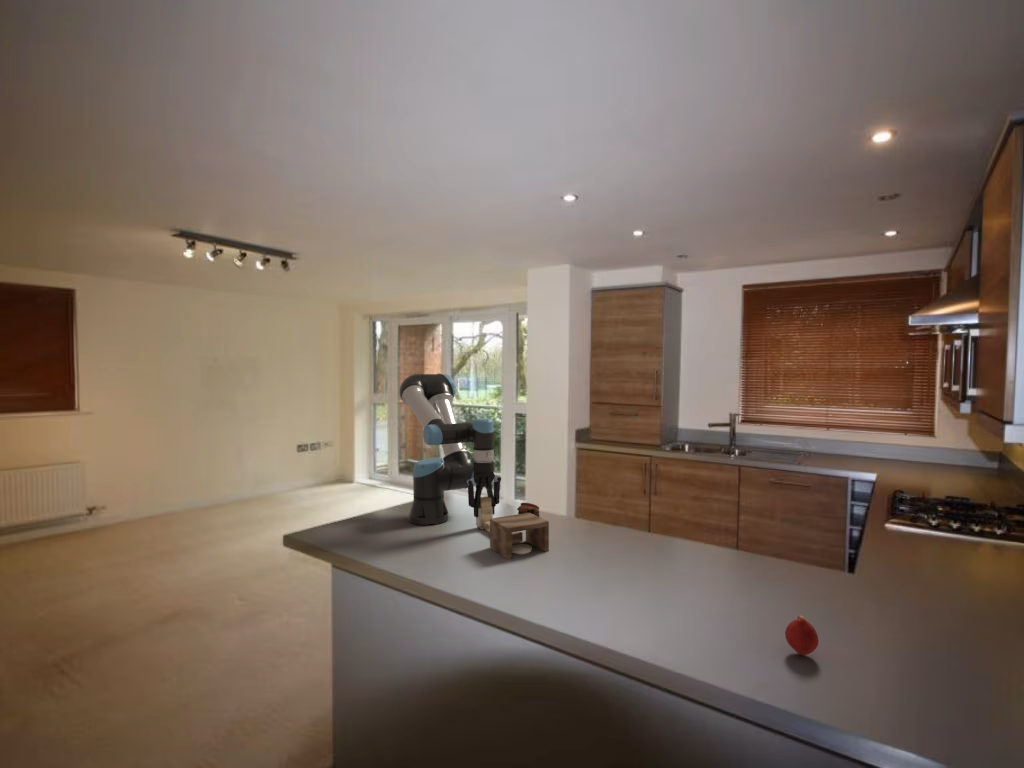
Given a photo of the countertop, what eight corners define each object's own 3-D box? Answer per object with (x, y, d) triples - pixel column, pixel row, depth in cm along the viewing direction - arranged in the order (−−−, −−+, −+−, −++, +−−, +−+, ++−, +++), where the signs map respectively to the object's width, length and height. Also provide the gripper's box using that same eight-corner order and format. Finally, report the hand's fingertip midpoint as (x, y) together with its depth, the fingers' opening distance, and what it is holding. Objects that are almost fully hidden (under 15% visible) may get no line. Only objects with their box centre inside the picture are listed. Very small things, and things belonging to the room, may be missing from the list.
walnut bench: (490, 547, 169) (489, 518, 169) (529, 540, 176) (529, 512, 176) (507, 559, 158) (507, 528, 158) (548, 550, 166) (548, 521, 166)
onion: (807, 647, 108) (807, 609, 108) (824, 662, 102) (825, 622, 102) (779, 647, 108) (780, 609, 107) (795, 663, 102) (796, 623, 102)
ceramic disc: (505, 549, 168) (505, 546, 168) (524, 546, 171) (524, 542, 171) (516, 556, 162) (516, 552, 162) (535, 552, 165) (535, 549, 165)
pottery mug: (509, 522, 199) (514, 501, 202) (528, 530, 203) (533, 509, 206) (526, 521, 189) (531, 500, 193) (546, 529, 193) (551, 508, 196)
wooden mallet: (472, 527, 190) (471, 498, 189) (491, 524, 194) (491, 495, 193) (501, 545, 170) (501, 512, 169) (522, 541, 173) (522, 508, 173)
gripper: (466, 464, 182) (467, 530, 182) (509, 460, 190) (509, 523, 191) (458, 461, 189) (458, 525, 189) (499, 457, 197) (500, 518, 197)
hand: (484, 524), depth 190 cm, fingers closed on wooden mallet, 4 cm apart
